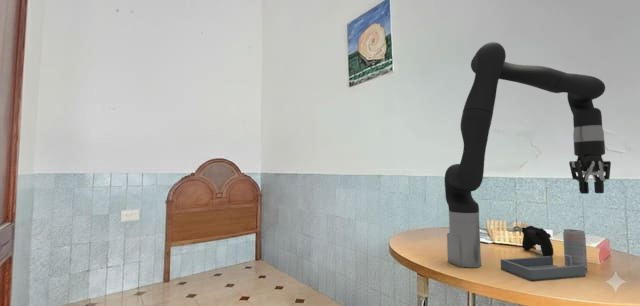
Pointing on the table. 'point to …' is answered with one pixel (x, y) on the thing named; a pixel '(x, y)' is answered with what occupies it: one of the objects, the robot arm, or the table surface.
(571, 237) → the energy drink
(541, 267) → the tray
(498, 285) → the table surface
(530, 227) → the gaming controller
